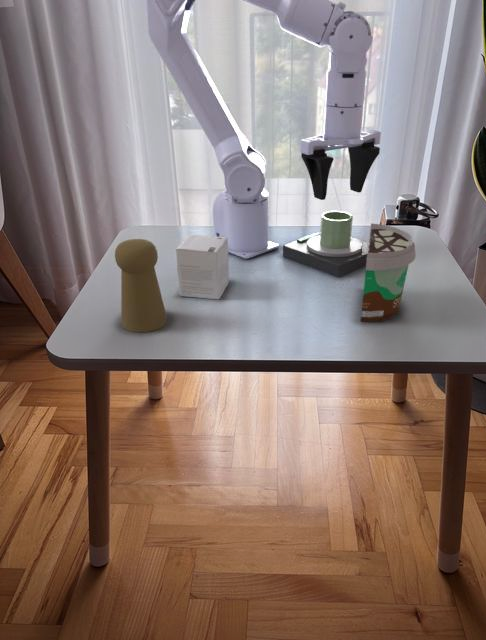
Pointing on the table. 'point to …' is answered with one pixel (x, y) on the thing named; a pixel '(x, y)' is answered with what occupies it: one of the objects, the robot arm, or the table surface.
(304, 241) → the kitchen scale
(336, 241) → the green cup
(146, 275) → the olive yellow pawn
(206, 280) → the product carton
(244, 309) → the table surface
